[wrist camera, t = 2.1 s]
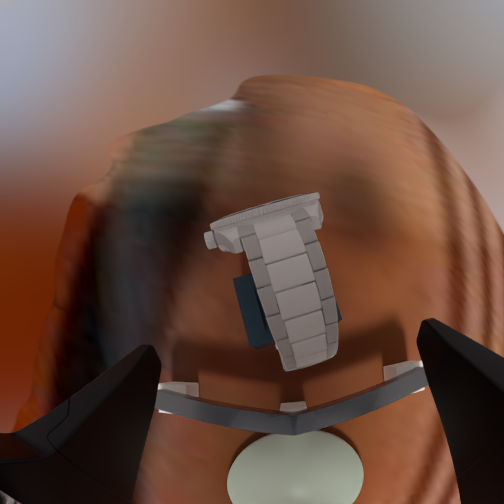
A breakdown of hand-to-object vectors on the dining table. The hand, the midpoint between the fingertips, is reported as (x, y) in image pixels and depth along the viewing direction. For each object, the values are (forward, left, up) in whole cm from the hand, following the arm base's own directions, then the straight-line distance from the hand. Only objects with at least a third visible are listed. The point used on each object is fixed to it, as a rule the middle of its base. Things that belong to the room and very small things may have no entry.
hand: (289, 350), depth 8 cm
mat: (-10, -2, -10) cm, 15 cm away
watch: (+3, +1, -10) cm, 11 cm away
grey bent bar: (-3, -1, -8) cm, 8 cm away
